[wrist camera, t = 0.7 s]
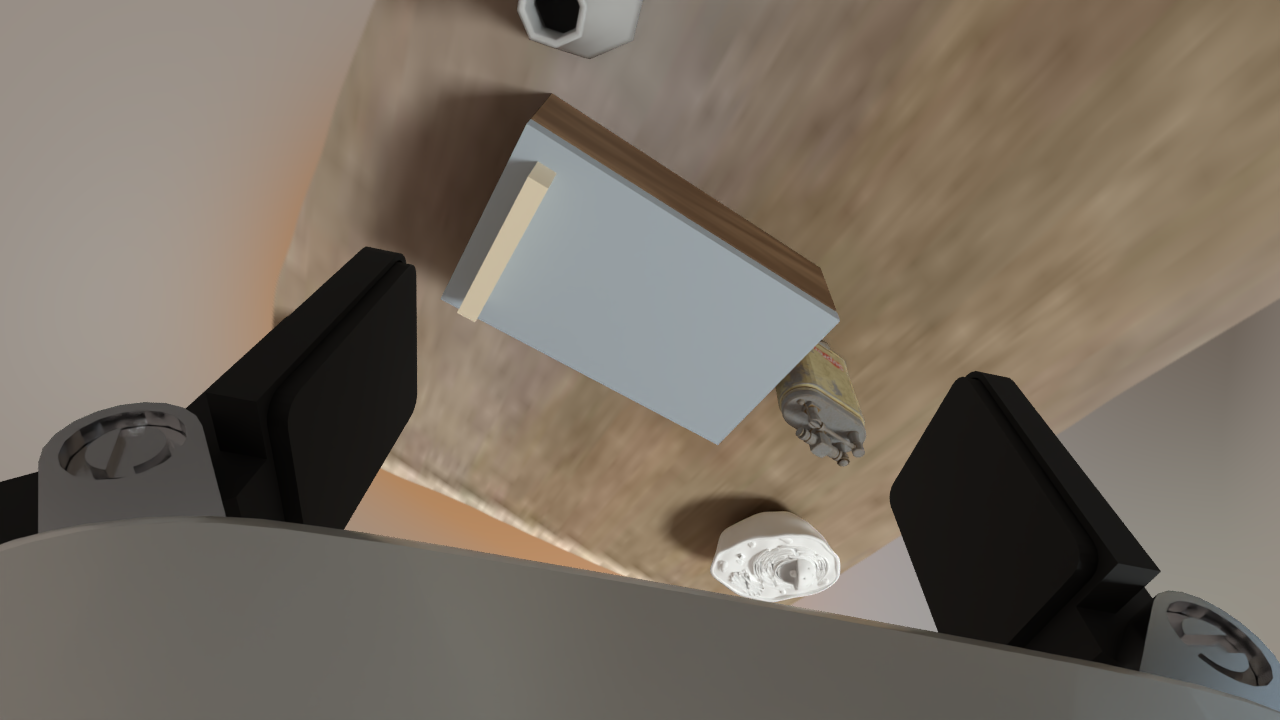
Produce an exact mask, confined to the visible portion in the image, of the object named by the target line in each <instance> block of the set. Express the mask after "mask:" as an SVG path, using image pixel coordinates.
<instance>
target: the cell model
mask: <svg viewBox="0 0 1280 720" xmlns="http://www.w3.org/2000/svg"><path fill="white" fill-rule="evenodd" d="M710 572H711V574H712V576H713V577H714V578H715V579H716V580H718V581H719V582H720V583H722V584H723V585H725V586H726V587H727V588H728V589H730V590H731V591H733V592H734V593H736V594H738V595H740V596H743V597H747V598H751V599H755V600H761V601H766V602H777V601H781V600H786V599H791V598H795V597H802V596H809V595H813V594H816V593H819V592H821V591H823V590H826V589H827V588H829V587H830V586H832V585H833V584H834V583H835V582H836V581H837V580H838V578H839V575H840V560H839V557H838V556H837V555H836V553H835V552H834V551H833V550H832V549H831V547H830V546H829V544H828V542H827V541H826V539H825V538H824V537H823V536H822V534H821V533H820V532H819V531H817V530H816V529H815V528H814V527H813V526H812V525H811V524H810V523H808V522H807V521H805V520H804V519H802V518H800V517H798V516H797V515H795V514H793V513H791V512H787V511H779V512H762V513H758V514H755V515H753V516H750V517H748V518H746V519H744V520H742V521H739V522H738V523H736V524H734V525H732V526H730V527H728V528H727V529H725V530H724V531H723V532H722V533H721V535H720V537H719V541H718V545H717V549H716V553H715V556H714V558H713V561H712V564H711V568H710Z"/></svg>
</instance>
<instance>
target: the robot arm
mask: <svg viewBox="0 0 1280 720" xmlns="http://www.w3.org/2000/svg"><path fill="white" fill-rule="evenodd" d="M416 399H417V307H416V269H415V267H414V265H411V264H406V260H405V257H404V256H403V254H400V253H395V252H390V251H386V250H381V249H376V248H371V247H365V248H363V249H362V250H360V251H359V252H358V253H357V254H356V255H355V256H354V257H353V258H352V259H351V260H350V261H348V262H347V263H346V264H345V265H344V266H343V267H342V268H341V269H340V270H339V271H337V272H336V273H335V274H334V275H333V276H332V277H331V278H330V279H329V280H328V281H327V282H325V283H324V284H323V285H322V286H321V287H320V288H319V289H318V290H317V291H316V292H314V293H313V294H312V295H311V296H310V297H309V298H308V299H307V300H306V301H305V302H304V303H302V304H301V305H300V306H299V307H298V308H297V309H296V310H295V311H294V312H293V313H291V314H290V315H289V316H288V317H286V318H285V319H284V320H283V321H281V322H280V323H279V324H278V325H277V326H276V327H275V328H274V329H273V330H272V331H270V332H269V333H268V334H267V335H266V336H265V337H264V338H263V339H262V340H261V341H259V342H258V343H257V344H256V345H255V346H254V347H253V348H252V349H251V350H250V351H249V352H247V353H246V354H245V355H244V356H243V357H242V358H241V359H240V360H239V361H237V362H236V363H235V364H234V365H233V366H232V367H231V368H230V369H229V370H228V371H226V372H225V373H224V374H223V375H222V376H221V377H220V378H219V379H218V380H217V381H215V382H214V383H213V384H212V385H211V386H210V387H209V388H208V389H207V390H206V391H205V392H204V393H202V394H201V395H200V396H199V397H198V398H197V399H196V400H195V401H194V402H192V403H191V404H190V405H189V406H188V407H187V408H186V409H185V408H182V407H179V406H175V405H171V404H167V403H148V402H143V403H134V404H126V405H119V406H115V407H112V408H108V409H104V410H101V411H97V412H95V413H92V414H90V415H88V416H85V417H83V418H81V419H78V420H76V421H74V422H73V423H71V424H69V425H68V426H66V427H65V428H64V429H62V430H60V431H59V432H58V433H56V434H55V435H54V436H53V437H52V438H51V439H50V441H49V442H48V443H47V444H46V445H45V446H44V448H43V449H42V452H41V456H40V459H39V462H38V463H39V464H38V472H36V473H32V474H28V475H24V476H21V477H17V478H13V479H9V480H6V481H2V482H0V720H1280V663H1279V662H1278V660H1277V659H1276V657H1275V655H1274V654H1273V653H1272V652H1271V651H1270V650H1269V649H1268V648H1267V647H1266V646H1265V644H1264V643H1263V642H1262V641H1261V640H1260V639H1259V638H1258V637H1257V636H1256V635H1255V634H1254V633H1252V632H1251V631H1250V630H1249V629H1248V628H1247V627H1245V626H1244V625H1243V624H1242V623H1241V622H1239V621H1238V620H1236V619H1235V618H1233V617H1232V616H1231V615H1229V614H1228V613H1226V612H1225V611H1223V610H1222V609H1220V608H1218V607H1216V606H1214V605H1213V604H1211V603H1209V602H1207V601H1205V600H1203V599H1201V598H1198V597H1195V596H1192V595H1189V594H1186V593H1183V592H1176V591H1165V592H1162V593H1159V594H1157V595H1156V596H1155V597H1154V598H1152V597H1151V596H1150V594H1149V593H1148V592H1147V590H1146V589H1145V586H1146V585H1147V584H1148V583H1149V582H1150V581H1151V580H1152V579H1153V578H1154V577H1155V576H1157V574H1159V573H1160V570H1159V568H1158V567H1157V566H1156V564H1155V563H1154V562H1153V561H1152V559H1151V558H1150V557H1149V555H1148V554H1147V553H1146V552H1145V550H1144V549H1143V548H1142V546H1141V545H1140V544H1139V543H1138V541H1137V540H1136V539H1135V537H1134V536H1133V535H1132V533H1131V532H1130V531H1129V530H1128V528H1127V527H1126V526H1125V525H1124V523H1123V522H1122V521H1121V519H1120V518H1119V517H1118V515H1117V514H1116V513H1115V512H1114V510H1113V509H1112V508H1111V506H1110V505H1109V504H1108V503H1107V501H1106V500H1105V499H1104V497H1103V496H1102V495H1101V493H1100V492H1099V491H1098V490H1097V488H1096V487H1095V486H1094V485H1093V483H1092V482H1091V481H1090V479H1089V478H1088V477H1087V475H1086V474H1085V473H1084V472H1083V470H1082V469H1081V468H1080V466H1079V465H1078V464H1077V462H1076V461H1075V460H1074V459H1073V457H1072V456H1071V455H1070V453H1069V452H1068V451H1067V450H1066V448H1065V447H1064V446H1063V444H1062V443H1061V442H1060V441H1059V439H1058V438H1057V437H1056V435H1055V434H1054V433H1053V432H1052V430H1051V429H1050V428H1049V426H1048V425H1047V424H1046V423H1045V421H1044V420H1043V419H1042V417H1041V416H1040V415H1039V413H1038V412H1037V411H1036V410H1035V408H1034V407H1033V406H1032V404H1031V403H1030V402H1029V401H1028V399H1027V398H1026V397H1025V395H1024V394H1023V393H1022V392H1021V390H1020V389H1019V388H1018V386H1017V385H1016V384H1015V383H1014V381H1012V380H1011V379H1010V378H1007V377H1002V376H997V375H992V374H988V373H983V372H978V371H974V372H971V373H969V374H968V375H967V376H966V377H961V378H958V379H957V380H956V381H955V382H954V384H953V385H952V387H951V388H950V390H949V392H948V393H947V395H946V397H945V398H944V400H943V402H942V403H941V405H940V407H939V408H938V410H937V412H936V413H935V415H934V417H933V418H932V420H931V422H930V423H929V425H928V427H927V428H926V430H925V432H924V433H923V435H922V437H921V438H920V440H919V442H918V443H917V445H916V447H915V448H914V450H913V452H912V453H911V455H910V457H909V458H908V460H907V462H906V463H905V465H904V467H903V468H902V470H901V472H900V473H899V475H898V477H897V478H896V480H895V482H894V483H893V485H892V487H891V491H890V505H891V508H892V511H893V513H894V516H895V519H896V521H897V524H898V527H899V529H900V532H901V534H902V537H903V540H904V542H905V545H906V548H907V550H908V553H909V556H910V558H911V561H912V563H913V566H914V569H915V572H916V574H917V577H918V580H919V582H920V585H921V588H922V590H923V593H924V596H925V598H926V601H927V603H928V606H929V609H930V612H931V614H932V617H933V619H934V622H935V625H936V627H937V630H938V632H932V631H927V630H921V629H916V628H910V627H904V626H900V625H894V624H889V623H883V622H878V621H872V620H866V619H861V618H856V617H850V616H844V615H839V614H833V613H828V612H822V611H816V610H811V609H805V608H799V607H794V606H789V605H783V604H777V603H772V602H766V601H761V600H755V599H749V598H744V597H738V596H732V595H727V594H721V593H715V592H710V591H704V590H698V589H693V588H687V587H681V586H676V585H670V584H664V583H659V582H653V581H647V580H642V579H636V578H630V577H624V576H618V575H613V574H607V573H601V572H595V571H589V570H584V569H578V568H572V567H566V566H560V565H554V564H548V563H542V562H537V561H531V560H525V559H519V558H514V557H508V556H501V555H496V554H490V553H484V552H478V551H473V550H467V549H461V548H455V547H449V546H443V545H437V544H431V543H425V542H419V541H412V540H406V539H400V538H394V537H387V536H381V535H375V534H369V533H363V532H356V531H348V530H344V528H345V527H346V525H347V523H348V522H349V520H350V518H351V517H352V515H353V513H354V512H355V510H356V508H357V506H358V505H359V503H360V501H361V500H362V498H363V496H364V495H365V493H366V491H367V489H368V488H369V486H370V485H371V483H372V481H373V479H374V478H375V476H376V474H377V473H378V471H379V469H380V468H381V466H382V464H383V463H384V461H385V459H386V457H387V456H388V454H389V452H390V451H391V449H392V447H393V446H394V444H395V442H396V441H397V439H398V437H399V436H400V434H401V432H402V430H403V429H404V427H405V425H406V424H407V422H408V420H409V419H410V417H411V415H412V413H413V411H414V408H415V404H416Z"/></svg>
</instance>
